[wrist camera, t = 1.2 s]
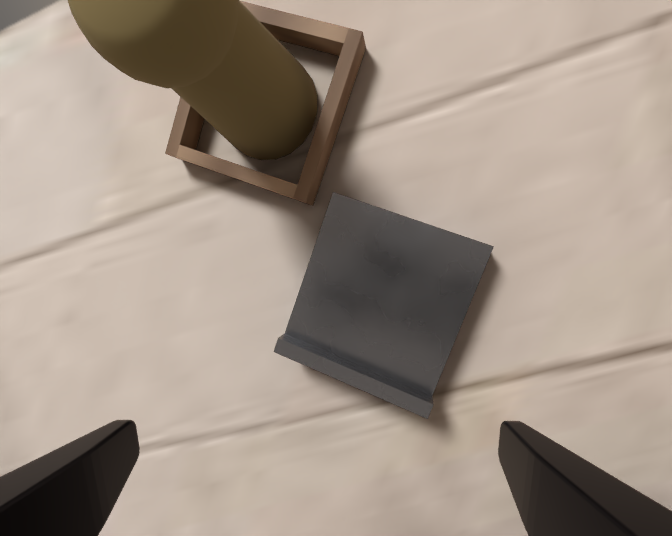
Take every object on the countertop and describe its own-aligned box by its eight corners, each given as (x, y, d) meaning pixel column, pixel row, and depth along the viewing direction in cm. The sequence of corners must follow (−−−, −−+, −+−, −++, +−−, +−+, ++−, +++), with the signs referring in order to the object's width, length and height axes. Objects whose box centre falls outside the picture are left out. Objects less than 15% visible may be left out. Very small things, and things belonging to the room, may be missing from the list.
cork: (336, 78, 20) (247, -126, 9) (289, 177, 20) (157, 102, 10) (246, 37, 20) (66, -192, 10) (205, 134, 21) (0, 22, 11)
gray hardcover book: (486, 246, 18) (498, 246, 16) (425, 397, 20) (427, 418, 17) (338, 195, 20) (328, 189, 17) (289, 339, 21) (273, 351, 19)
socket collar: (366, 48, 19) (362, 31, 18) (313, 205, 20) (305, 202, 19) (223, 11, 21) (209, -7, 19) (181, 159, 22) (165, 153, 20)
